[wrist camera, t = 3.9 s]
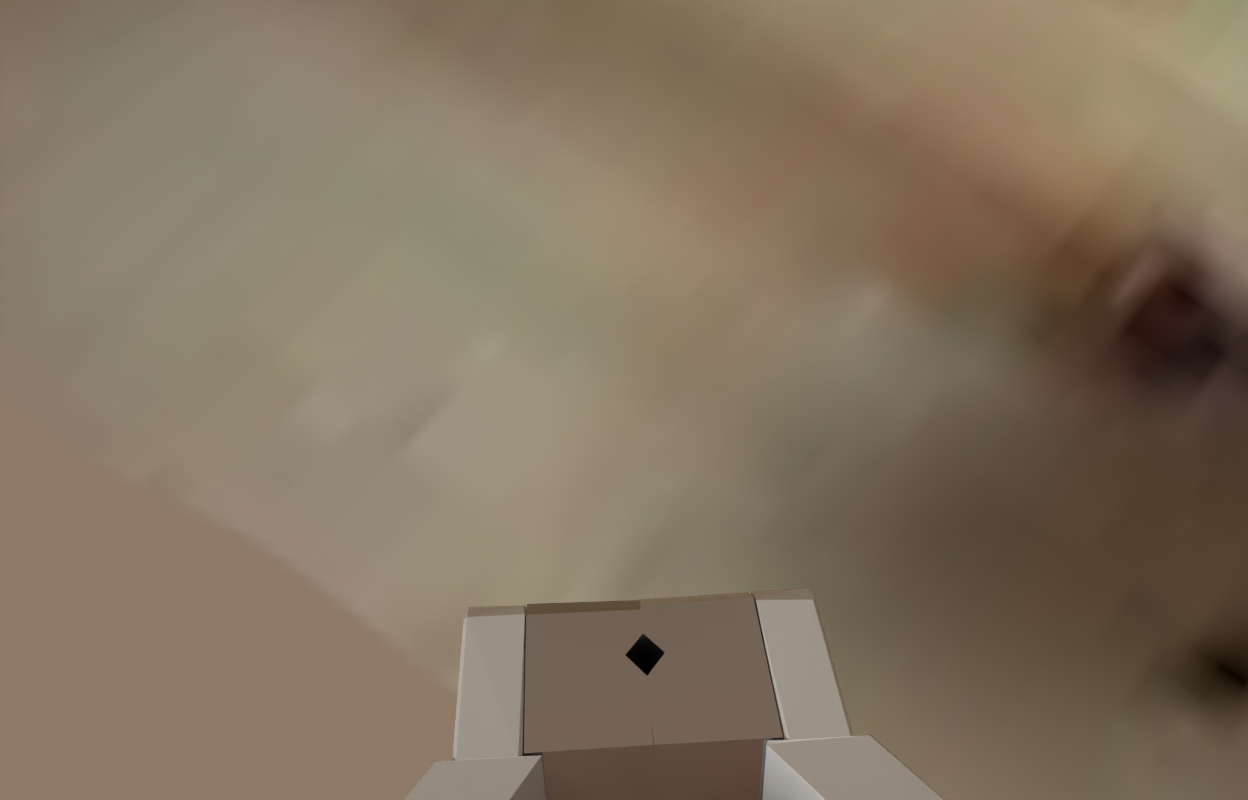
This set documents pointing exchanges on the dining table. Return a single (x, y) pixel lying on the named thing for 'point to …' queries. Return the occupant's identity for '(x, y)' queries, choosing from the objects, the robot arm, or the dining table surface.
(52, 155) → the dining table surface
